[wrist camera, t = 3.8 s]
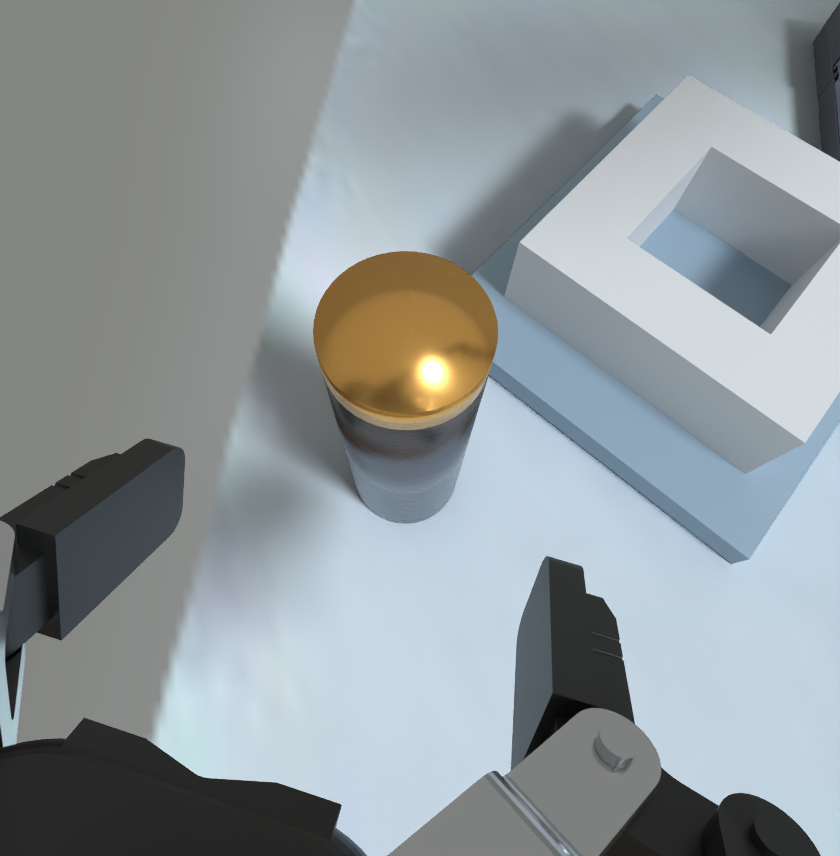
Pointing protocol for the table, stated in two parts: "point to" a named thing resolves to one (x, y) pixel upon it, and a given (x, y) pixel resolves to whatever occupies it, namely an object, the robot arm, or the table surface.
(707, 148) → the socket mount
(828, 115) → the disk drive
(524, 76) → the table surface
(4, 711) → the robot arm
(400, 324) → the gold topped tube
